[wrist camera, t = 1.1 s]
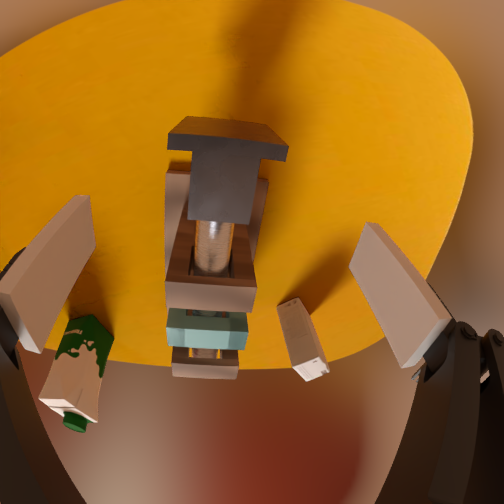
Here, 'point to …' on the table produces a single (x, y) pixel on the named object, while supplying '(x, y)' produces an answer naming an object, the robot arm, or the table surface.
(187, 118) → the shaft
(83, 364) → the milk carton
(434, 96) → the table surface
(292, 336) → the skincare box
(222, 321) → the spacer ring
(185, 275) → the bearing stand
